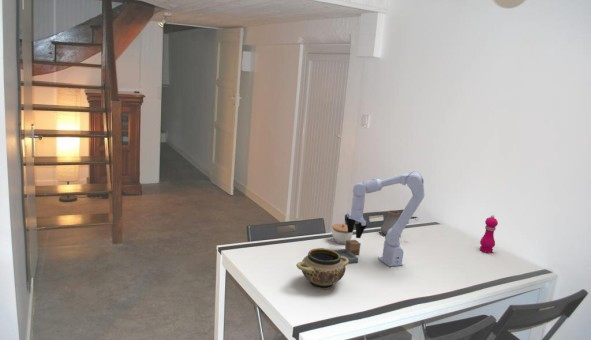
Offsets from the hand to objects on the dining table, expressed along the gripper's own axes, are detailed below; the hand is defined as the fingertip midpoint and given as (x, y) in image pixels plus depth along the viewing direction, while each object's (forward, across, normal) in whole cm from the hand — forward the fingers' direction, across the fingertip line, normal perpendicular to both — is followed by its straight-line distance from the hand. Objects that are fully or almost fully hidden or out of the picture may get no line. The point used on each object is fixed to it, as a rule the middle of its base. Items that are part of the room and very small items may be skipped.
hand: (354, 235), depth 218 cm
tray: (+9, +5, -8) cm, 14 cm away
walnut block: (+10, 0, 0) cm, 10 cm away
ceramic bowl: (+10, +26, -30) cm, 41 cm away
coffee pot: (+10, -15, +38) cm, 42 cm away
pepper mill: (+10, +11, +76) cm, 77 cm away
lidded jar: (+10, -15, +2) cm, 18 cm away
